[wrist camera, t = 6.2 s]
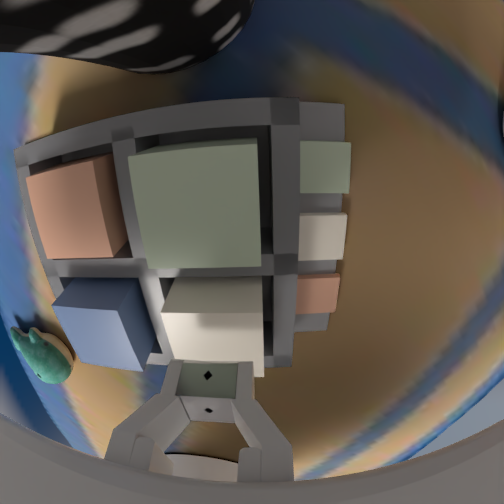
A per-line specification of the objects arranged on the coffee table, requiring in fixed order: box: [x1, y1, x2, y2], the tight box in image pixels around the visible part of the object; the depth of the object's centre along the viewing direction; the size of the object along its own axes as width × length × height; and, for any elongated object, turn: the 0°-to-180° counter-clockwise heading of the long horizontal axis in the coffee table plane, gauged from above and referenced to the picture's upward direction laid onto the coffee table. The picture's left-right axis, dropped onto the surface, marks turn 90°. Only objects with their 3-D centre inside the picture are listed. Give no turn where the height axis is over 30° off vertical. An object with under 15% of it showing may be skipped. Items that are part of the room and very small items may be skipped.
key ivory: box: [160, 276, 264, 377], centre depth 13 cm, size 4×4×3 cm
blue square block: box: [51, 277, 156, 372], centre depth 13 cm, size 4×4×3 cm
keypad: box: [14, 97, 351, 368], centre depth 13 cm, size 13×18×3 cm
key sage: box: [128, 137, 261, 269], centre depth 10 cm, size 4×4×3 cm
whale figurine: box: [10, 326, 73, 384], centre depth 18 cm, size 6×7×4 cm
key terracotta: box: [26, 152, 129, 259], centre depth 11 cm, size 4×4×3 cm
